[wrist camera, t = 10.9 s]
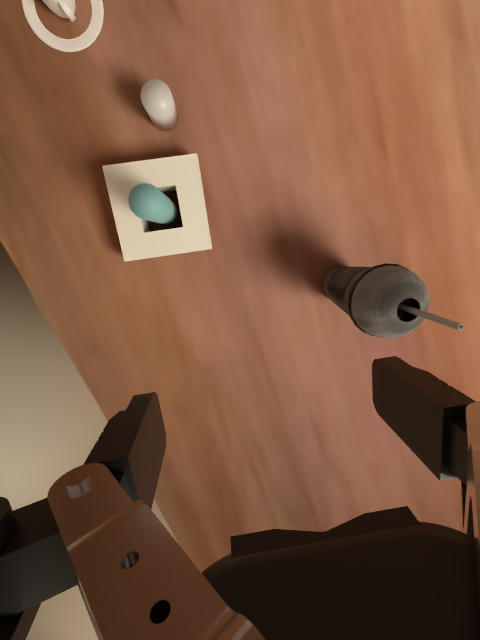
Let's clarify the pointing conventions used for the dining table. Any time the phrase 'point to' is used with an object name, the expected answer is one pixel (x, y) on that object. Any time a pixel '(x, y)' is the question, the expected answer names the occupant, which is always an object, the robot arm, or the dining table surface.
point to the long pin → (152, 204)
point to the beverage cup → (382, 299)
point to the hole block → (165, 177)
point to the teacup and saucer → (64, 6)
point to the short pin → (159, 104)
